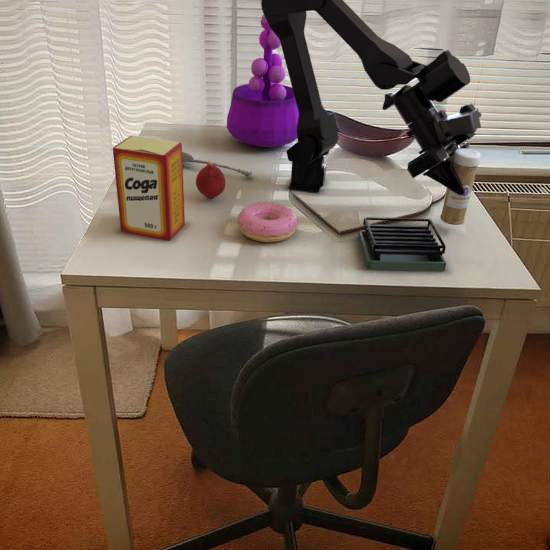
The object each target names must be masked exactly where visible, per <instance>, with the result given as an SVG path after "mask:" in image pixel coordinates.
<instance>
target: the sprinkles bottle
mask: <svg viewBox="0 0 550 550" xmlns="http://www.w3.org/2000/svg"><path fill="white" fill-rule="evenodd" d="M454 154H455V159H454V164H453V166H454V168H455V170H456V172H457V174H458V177H459V179H460V181H461V183H462V185H463V188H464V190H465V193H464V194H462V195H458V194H457V193H455V192H453V191H452V190H450V189H449V188H447V187H446V189H445V190H446V191H445V194H444V197H443V198H444V199H443V206H442V209H441V214H440V215H439V217H440V220H441V221H442V222H444V223H445V224H448V225H452V226H459V225H463V224H464V223H465V220H466V218H465V217H466V213H467V211H468V210H467V209H468V207H469V204H470V200H471V195H472V193H473V186H474V184H473V183H474V182H475V179H476V178H475V177H476V175H477V170H478V167H479V166H480V162H481V158H482V154H481V153H480V152H479V151H477V150H475V149H471V148H468V149H466V148H461V149H457V150H455V152H454Z"/></svg>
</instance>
